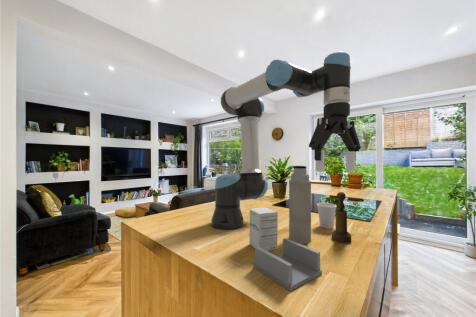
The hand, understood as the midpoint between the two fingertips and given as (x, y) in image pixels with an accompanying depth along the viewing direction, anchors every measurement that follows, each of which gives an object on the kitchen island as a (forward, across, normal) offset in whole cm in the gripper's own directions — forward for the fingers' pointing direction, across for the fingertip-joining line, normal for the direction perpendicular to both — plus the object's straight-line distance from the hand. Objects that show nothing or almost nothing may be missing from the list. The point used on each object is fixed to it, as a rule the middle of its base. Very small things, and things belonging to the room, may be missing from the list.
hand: (335, 171), depth 63 cm
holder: (+26, -19, -1) cm, 33 cm away
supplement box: (+27, -17, +15) cm, 35 cm away
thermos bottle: (+27, -1, +15) cm, 31 cm away
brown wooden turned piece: (+27, +13, +8) cm, 31 cm away
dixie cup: (+27, +21, +22) cm, 41 cm away
